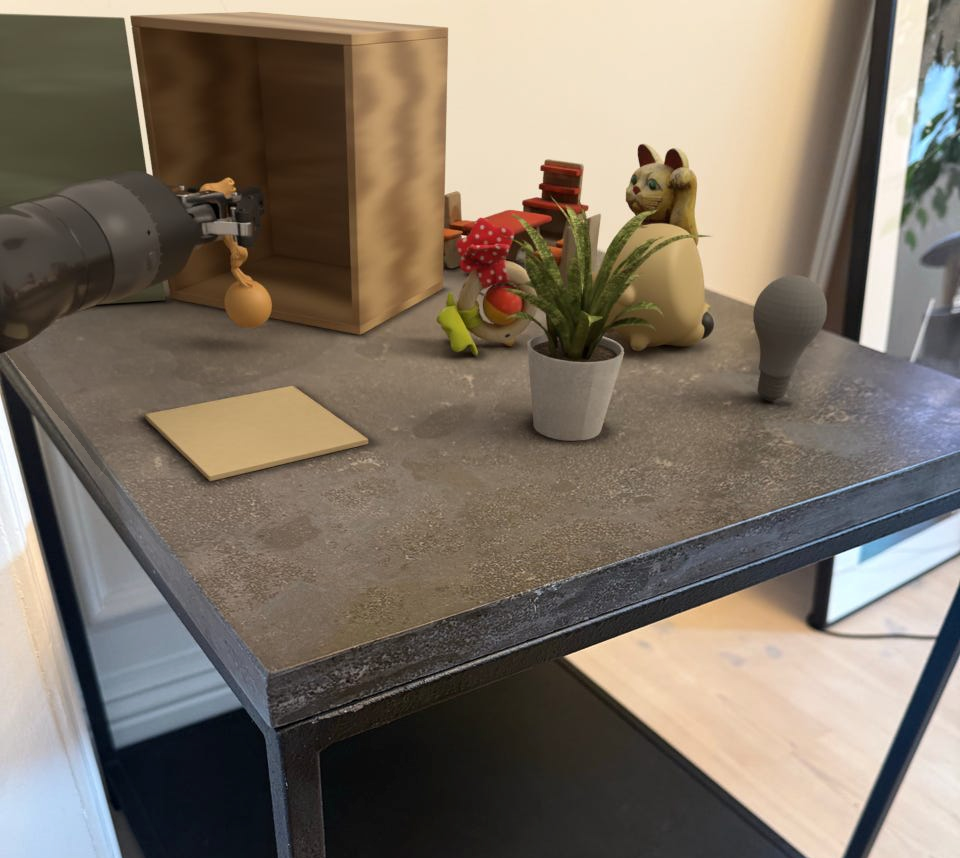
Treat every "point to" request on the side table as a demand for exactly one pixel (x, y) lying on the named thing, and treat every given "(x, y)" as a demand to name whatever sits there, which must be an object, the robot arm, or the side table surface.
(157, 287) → the dark green flat panel
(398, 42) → the cupboard
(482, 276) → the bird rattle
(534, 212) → the dollhouse furniture set
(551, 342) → the house plant
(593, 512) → the side table surface
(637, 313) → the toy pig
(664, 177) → the decorative figurine
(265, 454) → the mat
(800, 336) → the light bulb
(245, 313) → the figurine
